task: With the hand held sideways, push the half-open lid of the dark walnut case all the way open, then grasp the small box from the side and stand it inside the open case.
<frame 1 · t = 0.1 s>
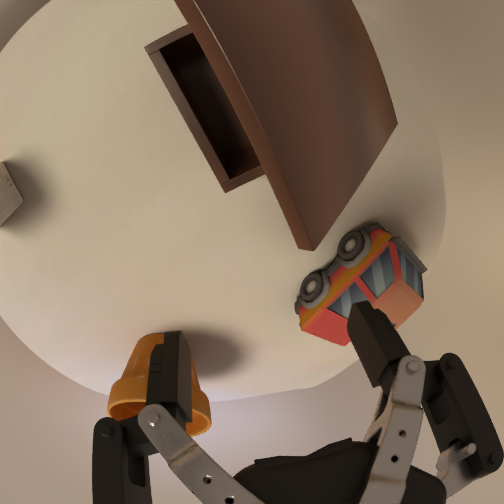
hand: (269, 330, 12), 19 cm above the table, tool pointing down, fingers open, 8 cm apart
small box: (0, 195, 22), on the table
lid: (332, 61, 11), point 13 cm above the table, hinge at 40.0°
case: (261, 80, 22), on the table
flower pot: (163, 349, 40), on the table
toy car: (349, 273, 37), on the table
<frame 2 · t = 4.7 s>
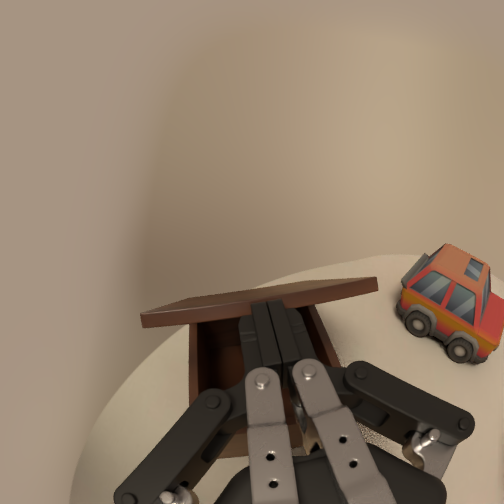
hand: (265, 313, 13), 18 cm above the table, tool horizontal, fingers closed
lid: (253, 297, 21), point 13 cm above the table, hinge at 39.4°, touching gripper
case: (263, 391, 27), on the table
toy car: (446, 325, 30), on the table
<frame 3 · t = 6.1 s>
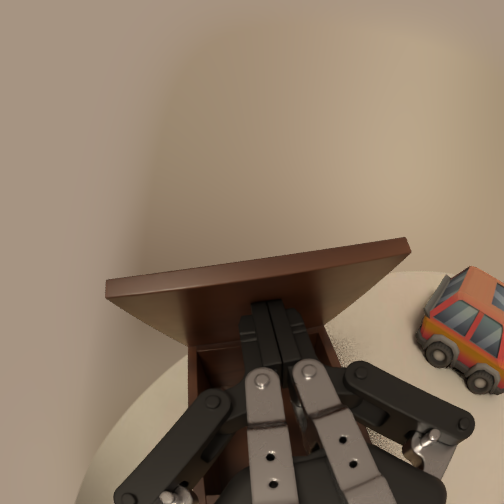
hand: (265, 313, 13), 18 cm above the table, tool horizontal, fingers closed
lid: (259, 314, 17), point 15 cm above the table, hinge at 59.4°, touching gripper
case: (272, 436, 22), on the table
toy car: (465, 351, 26), on the table
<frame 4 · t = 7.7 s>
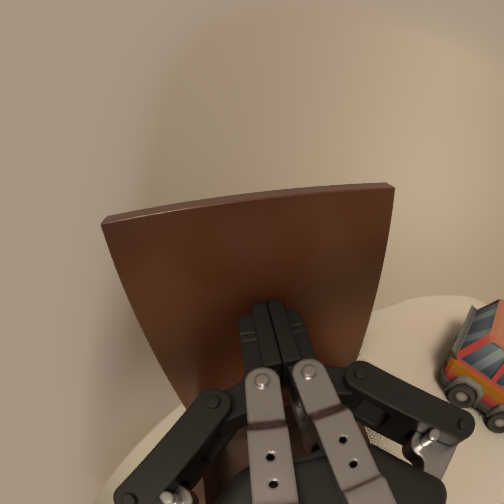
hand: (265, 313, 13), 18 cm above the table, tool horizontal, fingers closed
lid: (264, 331, 14), point 16 cm above the table, hinge at 92.6°, touching gripper
case: (284, 492, 17), on the table
toy car: (486, 386, 20), on the table
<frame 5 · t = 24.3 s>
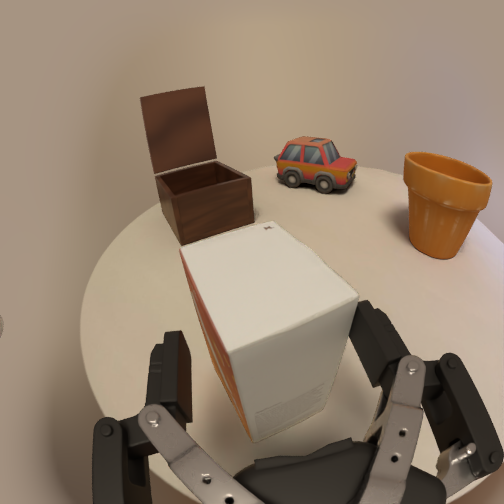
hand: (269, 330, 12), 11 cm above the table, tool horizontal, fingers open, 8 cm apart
small box: (266, 392, 20), on the table
lid: (178, 127, 46), point 16 cm above the table, hinge at 100.4°
case: (204, 217, 48), on the table
flower pot: (432, 244, 36), on the table
toy car: (316, 183, 59), on the table
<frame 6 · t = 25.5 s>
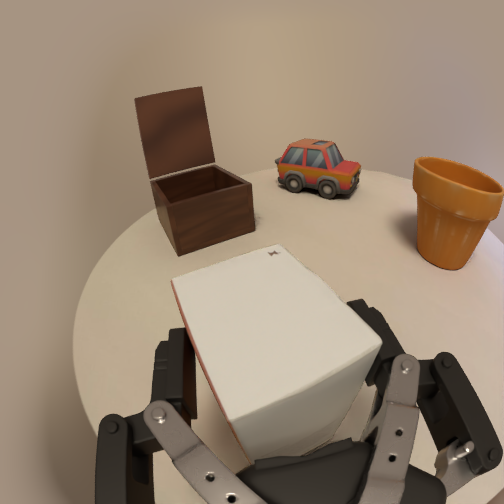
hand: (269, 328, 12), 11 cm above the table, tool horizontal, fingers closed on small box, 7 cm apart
small box: (270, 421, 18), on the table, touching gripper
lid: (175, 130, 44), point 16 cm above the table, hinge at 100.4°
case: (202, 224, 46), on the table
flower pot: (440, 254, 34), on the table
toy car: (319, 188, 57), on the table
when the fingers open (12 cm above the table, at t = 39.0 s): small box stays where it is, resting on case.
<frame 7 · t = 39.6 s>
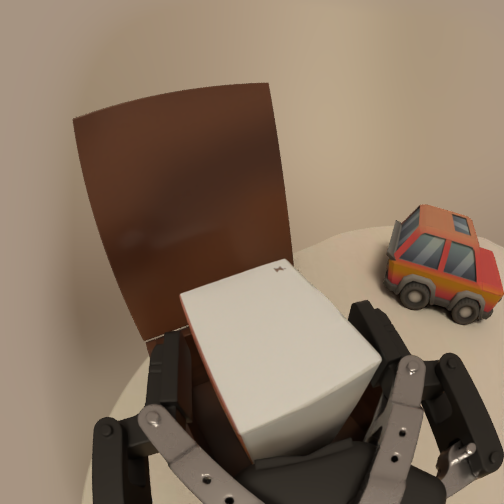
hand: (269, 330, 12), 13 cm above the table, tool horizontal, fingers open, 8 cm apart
small box: (272, 425, 19), point 1 cm above the table, touching case, gripper
lid: (197, 209, 17), point 16 cm above the table, hinge at 100.4°
case: (273, 426, 19), on the table
toy car: (436, 290, 30), on the table
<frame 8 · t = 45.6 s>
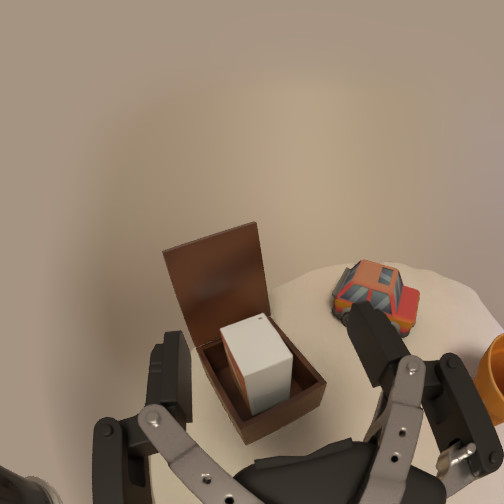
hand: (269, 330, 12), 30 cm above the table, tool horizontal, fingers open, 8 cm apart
small box: (259, 390, 38), point 1 cm above the table, touching case
lid: (222, 288, 37), point 16 cm above the table, hinge at 100.4°
case: (260, 391, 39), on the table
flower pot: (477, 410, 27), on the table
toy car: (373, 315, 50), on the table
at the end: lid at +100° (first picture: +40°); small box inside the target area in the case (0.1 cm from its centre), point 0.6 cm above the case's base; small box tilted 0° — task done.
